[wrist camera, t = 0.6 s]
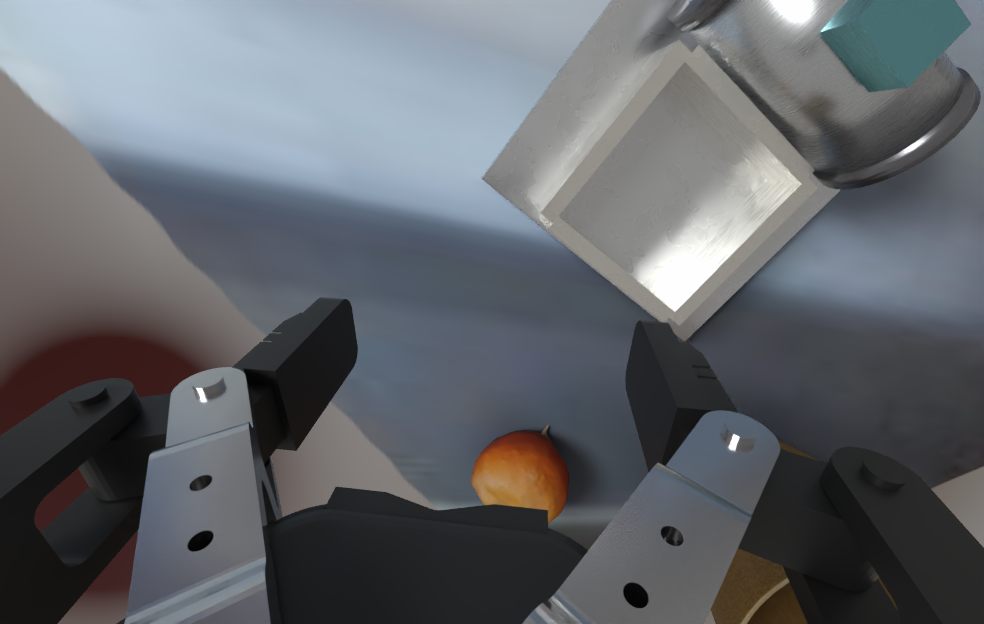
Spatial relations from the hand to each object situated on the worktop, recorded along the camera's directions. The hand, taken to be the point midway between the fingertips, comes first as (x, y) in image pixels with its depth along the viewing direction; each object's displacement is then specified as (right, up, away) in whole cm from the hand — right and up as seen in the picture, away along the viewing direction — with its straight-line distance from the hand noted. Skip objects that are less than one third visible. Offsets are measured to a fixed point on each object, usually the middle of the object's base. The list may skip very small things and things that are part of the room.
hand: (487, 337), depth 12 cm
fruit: (+2, -12, +27) cm, 29 cm away
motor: (+13, +12, +17) cm, 25 cm away
